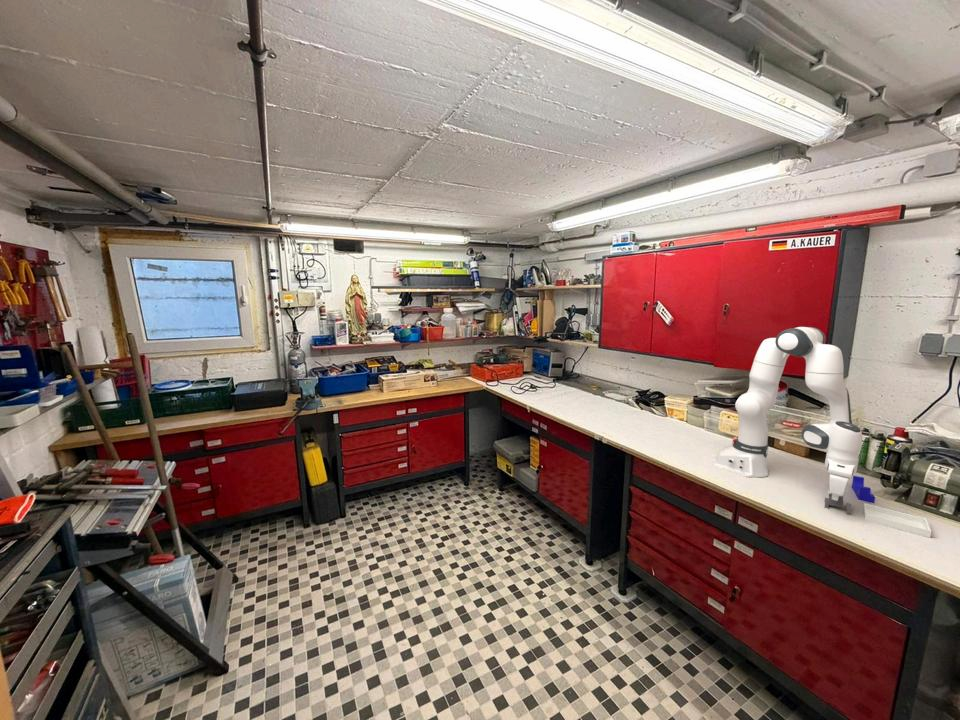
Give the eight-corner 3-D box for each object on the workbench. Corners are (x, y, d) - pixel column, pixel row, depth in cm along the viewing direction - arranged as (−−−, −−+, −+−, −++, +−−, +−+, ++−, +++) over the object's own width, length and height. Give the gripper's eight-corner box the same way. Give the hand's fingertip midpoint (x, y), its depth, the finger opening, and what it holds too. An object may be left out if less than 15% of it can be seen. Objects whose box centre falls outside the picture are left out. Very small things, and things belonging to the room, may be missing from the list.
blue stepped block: (874, 504, 145) (876, 490, 144) (858, 500, 148) (860, 487, 147) (866, 491, 155) (868, 478, 154) (851, 488, 157) (853, 475, 156)
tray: (864, 520, 135) (865, 513, 134) (863, 508, 142) (863, 502, 141) (930, 537, 124) (931, 531, 124) (924, 524, 131) (926, 518, 131)
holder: (824, 509, 142) (824, 505, 142) (824, 500, 148) (825, 497, 148) (851, 516, 137) (851, 512, 137) (850, 507, 143) (850, 504, 143)
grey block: (828, 504, 142) (828, 487, 142) (828, 500, 145) (828, 483, 145) (843, 507, 139) (843, 490, 139) (843, 503, 142) (843, 486, 142)
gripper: (830, 453, 149) (825, 484, 152) (828, 470, 135) (822, 503, 138) (852, 458, 145) (846, 489, 147) (852, 475, 131) (845, 510, 133)
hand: (835, 496), depth 142 cm, fingers closed on grey block, 4 cm apart
